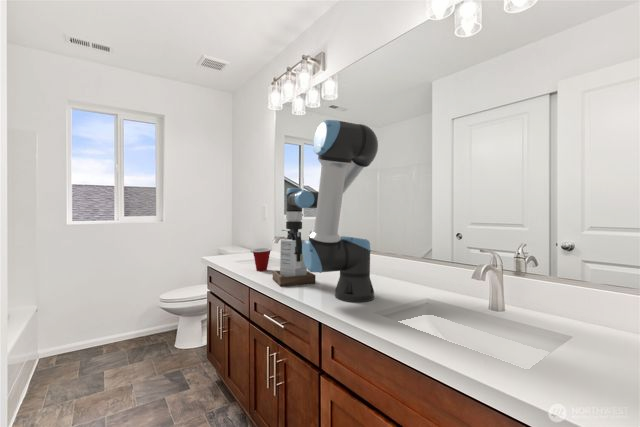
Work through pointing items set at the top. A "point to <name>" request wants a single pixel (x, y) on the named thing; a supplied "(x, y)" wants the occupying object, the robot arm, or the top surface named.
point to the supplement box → (290, 259)
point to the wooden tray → (293, 279)
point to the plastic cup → (261, 258)
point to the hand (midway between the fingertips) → (293, 266)
